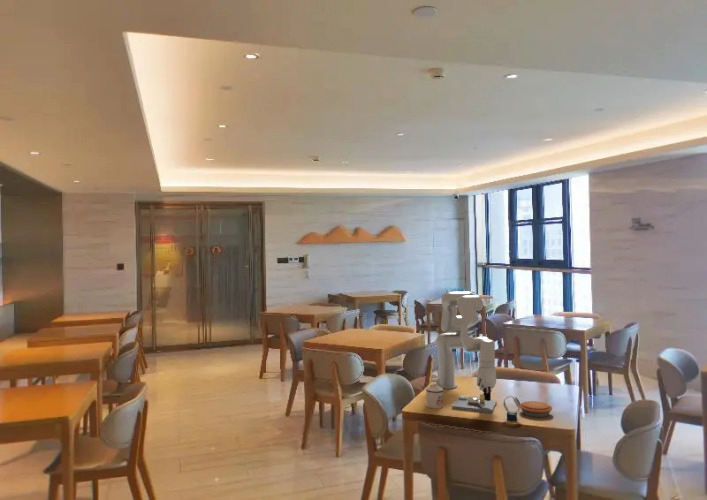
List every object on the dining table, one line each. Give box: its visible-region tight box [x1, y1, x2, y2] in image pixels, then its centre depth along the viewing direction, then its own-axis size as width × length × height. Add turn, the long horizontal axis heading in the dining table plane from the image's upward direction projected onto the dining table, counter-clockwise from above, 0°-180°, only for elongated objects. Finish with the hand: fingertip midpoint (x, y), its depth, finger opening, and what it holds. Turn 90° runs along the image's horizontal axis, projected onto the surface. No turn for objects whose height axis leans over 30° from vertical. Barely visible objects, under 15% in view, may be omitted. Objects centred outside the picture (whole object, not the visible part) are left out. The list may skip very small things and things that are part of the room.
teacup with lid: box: [425, 382, 444, 409], centre depth 274 cm, size 12×9×12 cm
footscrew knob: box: [467, 393, 485, 407], centre depth 270 cm, size 13×7×6 cm, turn 15°
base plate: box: [451, 395, 497, 414], centre depth 272 cm, size 20×18×3 cm
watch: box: [502, 395, 521, 422], centre depth 251 cm, size 6×8×11 cm
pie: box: [520, 400, 553, 418], centre depth 259 cm, size 15×16×5 cm
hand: (487, 400), depth 267 cm, fingers closed
